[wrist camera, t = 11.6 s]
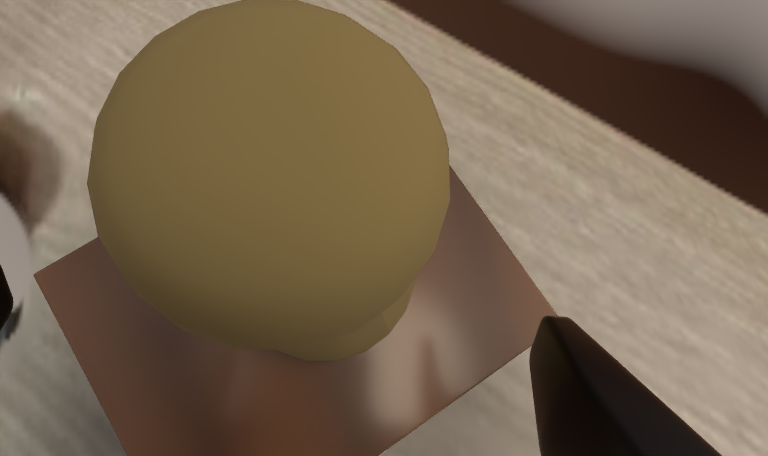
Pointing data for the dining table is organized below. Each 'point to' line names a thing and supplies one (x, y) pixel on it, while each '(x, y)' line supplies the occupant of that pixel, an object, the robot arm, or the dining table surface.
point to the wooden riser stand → (291, 374)
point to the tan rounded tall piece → (271, 178)
